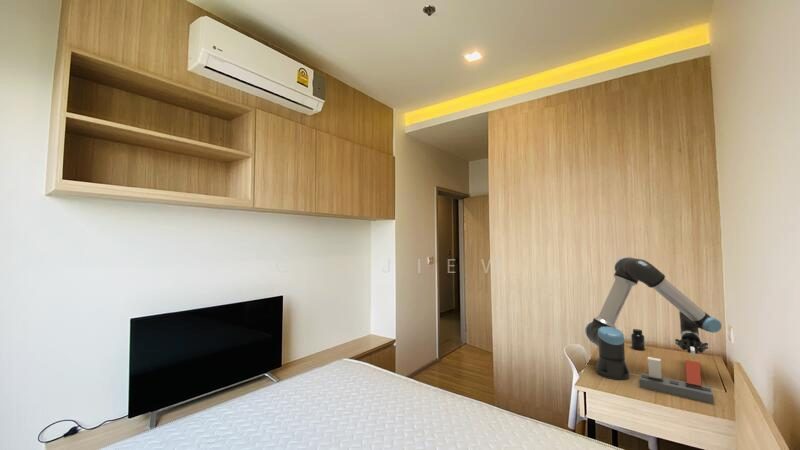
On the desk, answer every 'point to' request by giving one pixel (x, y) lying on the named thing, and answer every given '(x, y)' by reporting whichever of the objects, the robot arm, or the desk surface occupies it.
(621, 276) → the robot arm
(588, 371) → the desk surface
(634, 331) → the supplement bottle
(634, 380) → the desk surface
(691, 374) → the red upright block
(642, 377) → the grey slotted base
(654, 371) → the white rocker
